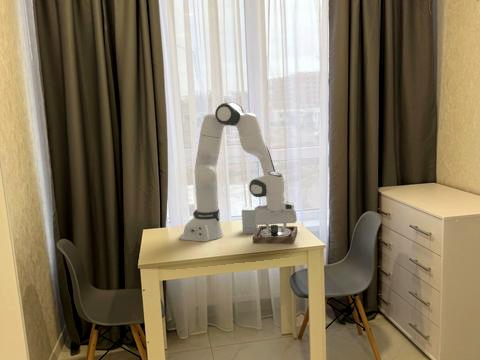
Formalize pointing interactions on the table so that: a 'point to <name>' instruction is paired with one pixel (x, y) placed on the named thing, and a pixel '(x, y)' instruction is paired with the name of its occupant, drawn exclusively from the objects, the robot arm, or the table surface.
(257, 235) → the dial housing
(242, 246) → the table surface
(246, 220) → the supplement box
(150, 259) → the table surface
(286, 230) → the dial
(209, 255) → the table surface
